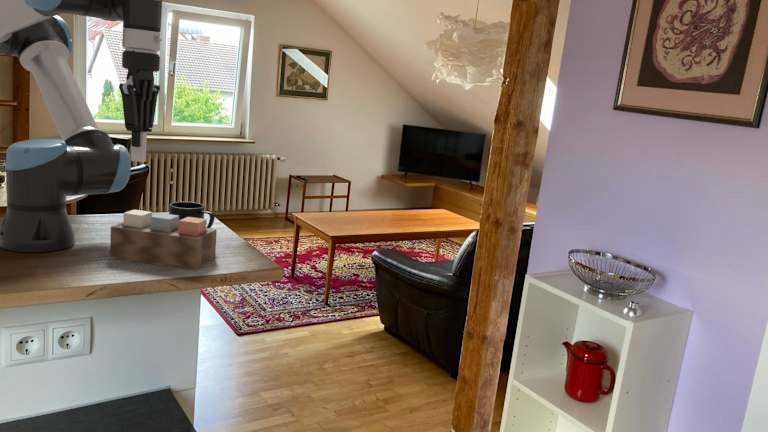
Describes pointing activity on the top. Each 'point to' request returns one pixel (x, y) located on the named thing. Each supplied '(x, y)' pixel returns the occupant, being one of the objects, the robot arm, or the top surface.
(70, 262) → the top surface
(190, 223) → the terracotta key
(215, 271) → the top surface
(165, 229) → the slate key
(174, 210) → the mug
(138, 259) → the brown wooden block
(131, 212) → the ivory key
